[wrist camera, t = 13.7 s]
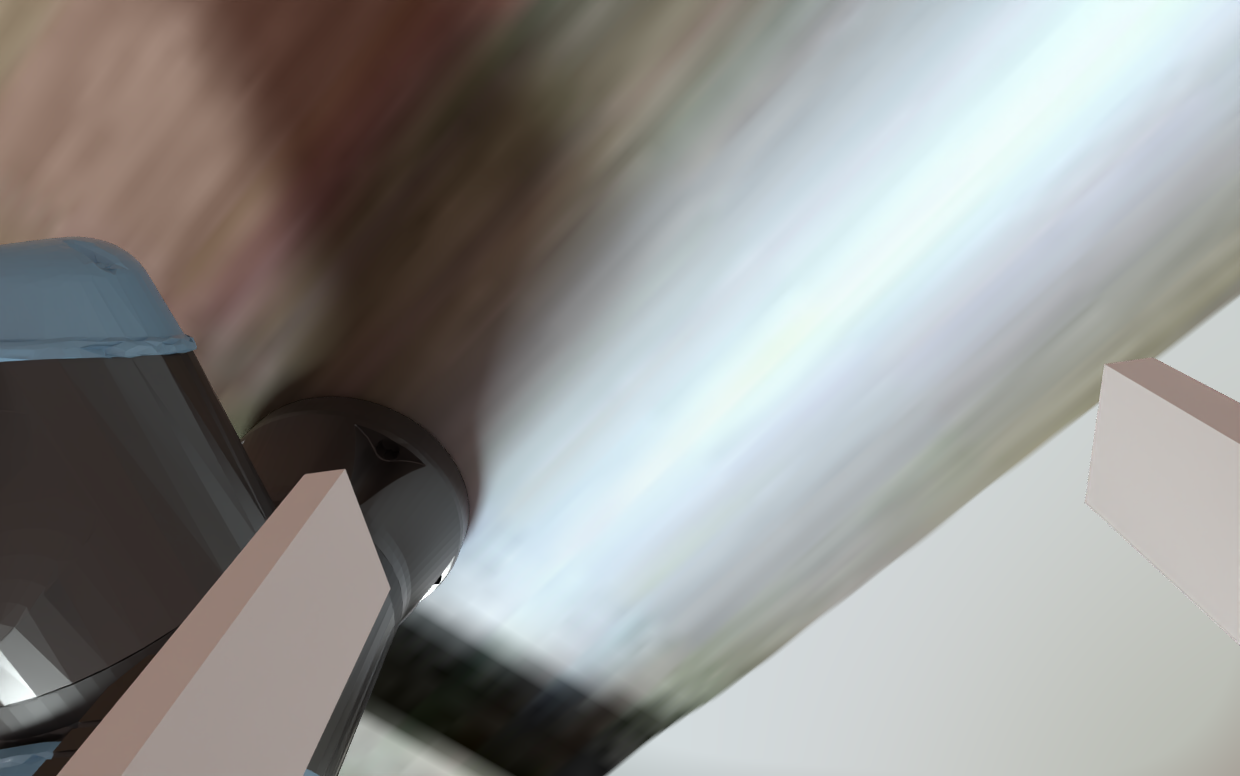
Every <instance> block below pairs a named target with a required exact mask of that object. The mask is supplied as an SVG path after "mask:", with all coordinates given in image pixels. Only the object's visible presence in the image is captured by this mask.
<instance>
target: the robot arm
mask: <svg viewBox="0 0 1240 776" xmlns="http://www.w3.org/2000/svg"><path fill="white" fill-rule="evenodd" d="M195 349H197V347H196V344H195V341H194V339H193V338H192V337H190V336H188V335H186V334H184V333H183V332H182V330H181V328H180V327H179V325H178V323H177V322H176V320H175V318H174V317H173V315H172V313H171V312H170V310H169V308H168V307H167V305H166V303H165V302H164V300H163V298H162V297H161V295H160V293H159V292H158V290H157V288H156V287H155V285H154V283H153V282H152V280H151V278H150V277H149V275H148V273H147V272H146V270H145V269H144V268H143V266H142V265H141V264H140V263H139V262H138V261H137V260H136V259H135V258H134V257H133V256H132V255H131V254H129V253H128V252H126V251H125V250H123V249H121V248H120V247H118V246H116V245H114V244H111V243H108V242H106V241H102V240H99V239H95V238H86V237H63V238H52V239H43V240H34V241H26V242H19V243H11V244H3V245H0V776H338V774H339V771H340V769H341V766H342V764H343V761H344V759H345V756H346V754H347V751H348V749H349V746H350V744H351V742H352V739H353V737H354V734H355V732H356V729H357V727H358V724H359V722H360V719H361V717H362V714H363V712H364V709H365V707H366V704H367V702H368V699H369V697H370V694H371V692H372V689H373V687H374V685H375V682H376V680H377V677H378V675H379V672H380V670H381V667H382V665H383V662H384V660H385V657H386V655H387V652H388V650H389V648H390V645H391V643H392V641H393V638H394V636H395V634H396V631H397V629H398V626H399V625H400V624H401V623H402V622H403V621H404V620H405V619H406V618H407V617H408V616H409V615H410V614H411V613H412V612H413V610H414V609H415V608H416V606H417V605H418V603H419V602H420V601H422V600H423V599H425V598H426V597H427V596H428V595H430V594H431V593H432V592H433V591H434V590H435V589H436V588H437V587H438V586H439V585H440V584H441V583H442V582H443V581H444V579H445V578H446V577H447V575H448V574H449V572H450V571H451V569H452V567H453V566H454V564H455V562H456V560H457V557H458V555H459V552H460V549H461V547H462V544H463V541H464V538H465V535H466V532H467V527H468V521H469V502H468V496H467V491H466V487H465V484H464V482H463V479H462V477H461V474H460V472H459V470H458V468H457V466H456V465H455V463H454V461H453V460H452V458H451V457H450V456H449V454H448V453H447V451H446V450H445V449H444V448H443V447H442V446H441V444H440V443H439V442H438V441H437V440H436V439H435V438H434V437H433V436H431V435H430V434H429V433H428V432H427V431H426V430H424V429H423V428H422V427H421V426H419V425H418V424H416V423H415V422H413V421H412V420H410V419H408V418H407V417H405V416H403V415H401V414H399V413H397V412H396V411H393V410H391V409H389V408H386V407H384V406H381V405H378V404H375V403H371V402H368V401H363V400H359V399H353V398H345V397H319V398H311V399H305V400H301V401H297V402H294V403H291V404H288V405H286V406H283V407H281V408H279V409H277V410H275V411H274V412H272V413H270V414H269V415H267V416H266V417H265V418H263V419H262V420H261V421H260V422H258V423H257V424H256V425H255V426H254V427H253V428H252V429H251V430H250V431H249V432H248V433H247V434H246V435H244V436H243V437H242V438H241V439H239V437H238V435H237V433H236V431H235V429H234V428H233V426H232V424H231V422H230V420H229V418H228V416H227V414H226V412H225V410H224V409H223V407H222V405H221V403H220V401H219V399H218V397H217V395H216V393H215V392H214V390H213V388H212V386H211V384H210V382H209V380H208V378H207V376H206V375H205V373H204V371H203V369H202V367H201V365H200V363H199V361H198V359H197V357H196V356H195V354H194V352H193V350H195ZM1085 504H1087V505H1088V506H1089V507H1090V508H1091V509H1092V510H1093V511H1094V512H1095V513H1096V514H1097V515H1099V516H1100V517H1101V518H1102V519H1103V520H1104V521H1105V522H1106V523H1107V524H1108V525H1110V526H1111V527H1112V528H1113V529H1114V530H1115V531H1116V532H1117V533H1118V534H1119V535H1120V536H1121V537H1123V538H1124V539H1125V540H1126V541H1127V542H1128V543H1129V544H1130V545H1131V546H1132V547H1133V548H1134V549H1136V550H1137V551H1138V552H1139V553H1140V554H1141V555H1142V556H1143V557H1144V558H1145V559H1146V560H1148V561H1149V562H1150V563H1151V564H1152V565H1153V566H1154V567H1155V568H1156V569H1157V570H1159V572H1161V573H1162V574H1163V575H1164V576H1165V577H1166V578H1167V579H1168V580H1169V581H1170V582H1172V583H1173V584H1174V585H1175V586H1176V587H1177V588H1178V589H1179V590H1180V591H1181V592H1182V593H1183V594H1185V595H1186V596H1187V597H1188V598H1189V599H1190V600H1191V601H1192V602H1193V603H1194V604H1195V605H1197V607H1199V608H1200V609H1201V610H1202V611H1203V612H1204V613H1205V614H1206V615H1207V616H1209V618H1211V619H1212V620H1213V621H1214V622H1215V623H1216V624H1217V625H1218V626H1219V627H1220V628H1221V629H1222V630H1224V631H1225V632H1226V633H1227V634H1228V635H1229V636H1230V637H1231V638H1233V640H1234V641H1236V642H1237V643H1238V644H1239V645H1240V403H1239V402H1237V401H1235V400H1233V399H1231V398H1229V397H1227V396H1226V395H1224V394H1222V393H1220V392H1218V391H1216V390H1214V389H1212V388H1210V387H1208V386H1206V385H1204V384H1202V383H1201V382H1199V381H1197V380H1195V379H1193V378H1191V377H1189V376H1187V375H1185V374H1183V373H1182V372H1180V371H1178V370H1176V369H1174V368H1172V367H1170V366H1168V365H1166V364H1164V363H1163V362H1161V361H1159V360H1157V359H1155V358H1153V357H1152V358H1145V359H1138V360H1130V361H1123V362H1116V363H1109V364H1104V371H1103V378H1102V385H1101V392H1100V399H1099V406H1098V413H1097V420H1096V427H1095V433H1094V441H1093V448H1092V454H1091V461H1090V468H1089V475H1088V482H1087V489H1086V497H1085Z"/></svg>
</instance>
